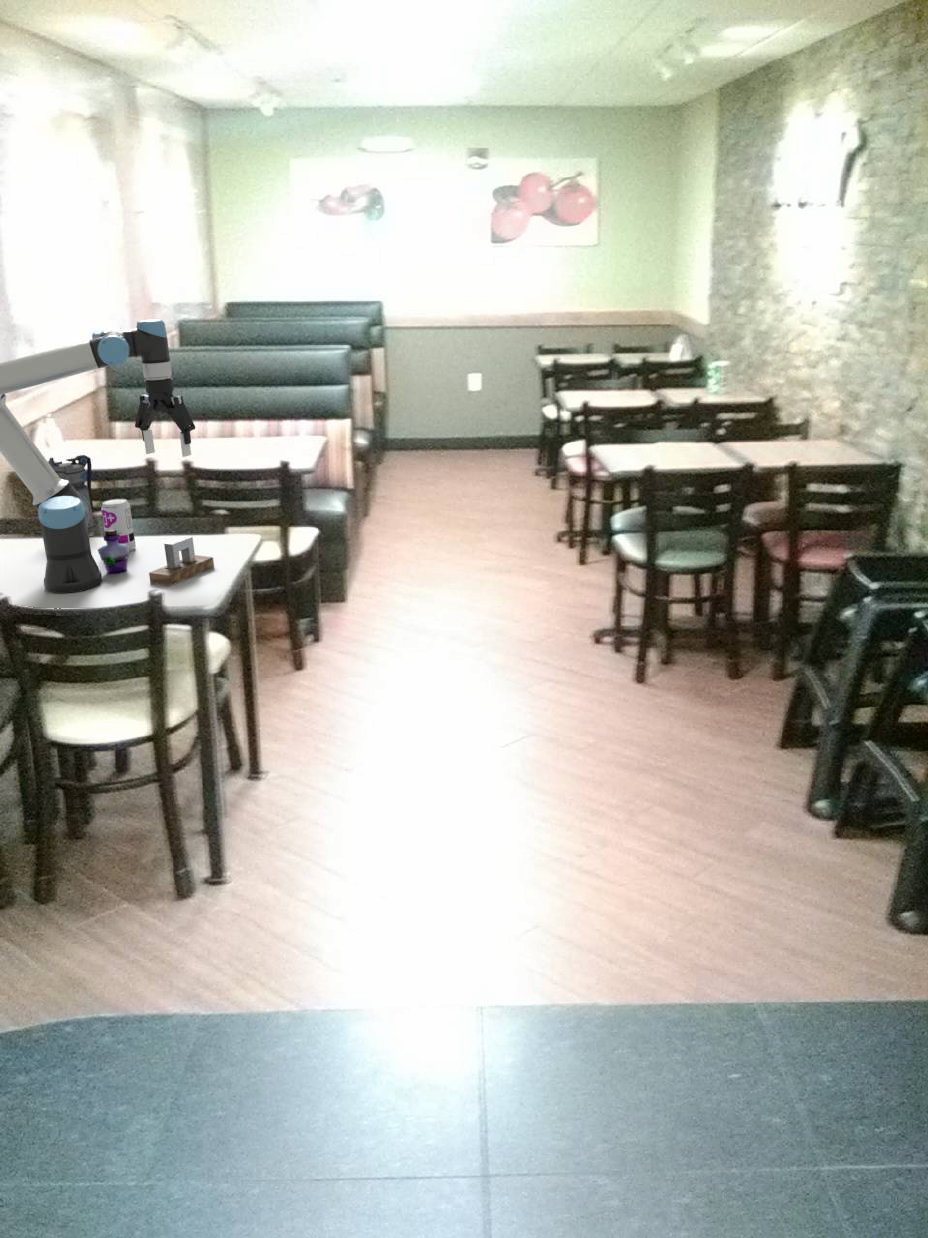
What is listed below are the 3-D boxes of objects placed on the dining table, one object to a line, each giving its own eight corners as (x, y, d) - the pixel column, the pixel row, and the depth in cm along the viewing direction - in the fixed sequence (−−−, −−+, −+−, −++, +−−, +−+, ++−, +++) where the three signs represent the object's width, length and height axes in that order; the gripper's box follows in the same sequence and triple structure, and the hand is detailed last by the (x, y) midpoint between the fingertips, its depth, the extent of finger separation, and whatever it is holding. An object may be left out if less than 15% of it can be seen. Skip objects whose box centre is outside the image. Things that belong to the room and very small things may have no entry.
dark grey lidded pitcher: (106, 531, 368) (94, 454, 359) (66, 539, 360) (52, 460, 352) (95, 525, 375) (83, 449, 367) (55, 533, 368) (41, 456, 360)
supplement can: (119, 555, 340) (111, 506, 335) (102, 551, 345) (94, 503, 340) (141, 548, 346) (134, 500, 341) (124, 545, 351) (117, 497, 346)
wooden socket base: (169, 586, 309) (168, 575, 308) (150, 583, 312) (148, 572, 311) (214, 567, 323) (213, 557, 322) (195, 564, 326) (194, 554, 326)
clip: (177, 577, 314) (172, 544, 310) (168, 576, 315) (164, 543, 312) (196, 569, 320) (192, 536, 317) (188, 568, 321) (184, 535, 318)
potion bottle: (100, 577, 319) (94, 535, 315) (101, 569, 327) (95, 528, 323) (132, 573, 321) (126, 532, 317) (132, 565, 329) (126, 524, 325)
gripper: (202, 376, 312) (211, 454, 319) (134, 374, 324) (145, 449, 331) (183, 380, 306) (193, 459, 313) (115, 378, 318) (126, 454, 325)
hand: (168, 454), depth 322 cm, fingers open, 13 cm apart
